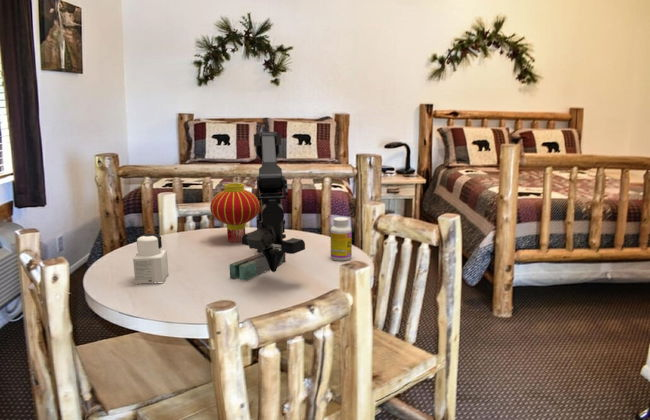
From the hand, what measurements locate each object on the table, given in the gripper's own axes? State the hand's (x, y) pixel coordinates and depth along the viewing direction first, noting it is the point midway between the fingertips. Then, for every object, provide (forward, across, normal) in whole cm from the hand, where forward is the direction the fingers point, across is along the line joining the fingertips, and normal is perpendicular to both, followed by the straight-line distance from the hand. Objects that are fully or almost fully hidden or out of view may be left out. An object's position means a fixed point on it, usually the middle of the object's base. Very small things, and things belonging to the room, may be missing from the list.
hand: (273, 271), depth 156 cm
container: (+2, -29, -19) cm, 35 cm away
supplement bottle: (+2, +5, +27) cm, 28 cm away
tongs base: (+2, -9, +5) cm, 11 cm away
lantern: (+2, -38, +25) cm, 46 cm away
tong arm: (+2, -7, +3) cm, 8 cm away
